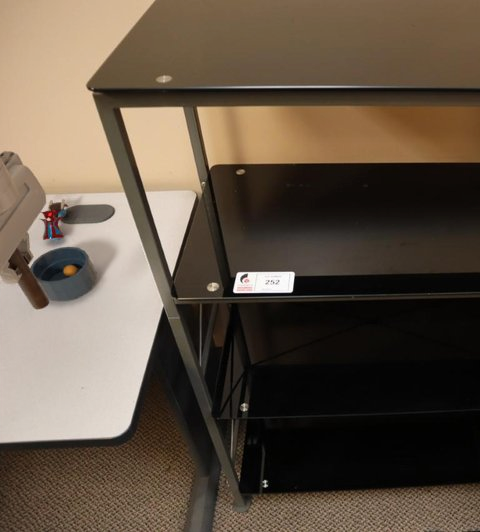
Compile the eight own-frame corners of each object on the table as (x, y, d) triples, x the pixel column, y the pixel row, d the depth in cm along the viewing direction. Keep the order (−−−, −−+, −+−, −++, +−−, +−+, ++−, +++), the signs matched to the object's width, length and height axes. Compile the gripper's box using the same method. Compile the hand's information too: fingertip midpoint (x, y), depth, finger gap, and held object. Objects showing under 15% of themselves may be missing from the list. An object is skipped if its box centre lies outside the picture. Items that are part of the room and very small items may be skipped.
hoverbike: (41, 248, 105) (29, 228, 101) (50, 212, 113) (39, 192, 109) (69, 245, 106) (58, 224, 102) (76, 209, 114) (66, 189, 110)
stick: (29, 309, 75) (-22, 232, 65) (36, 297, 77) (-13, 220, 66) (46, 310, 76) (-1, 233, 65) (53, 297, 77) (7, 220, 67)
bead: (64, 280, 99) (59, 271, 97) (68, 271, 101) (64, 262, 99) (77, 280, 99) (72, 271, 97) (81, 271, 101) (77, 262, 99)
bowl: (33, 303, 95) (20, 283, 91) (54, 266, 102) (42, 246, 98) (88, 303, 96) (77, 283, 92) (105, 266, 103) (95, 246, 99)
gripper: (-15, 143, 69) (28, 221, 78) (-111, 247, 54) (-44, 327, 64) (35, 144, 69) (72, 222, 79) (-46, 248, 55) (11, 327, 65)
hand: (20, 270), depth 71 cm, fingers closed on stick, 2 cm apart
